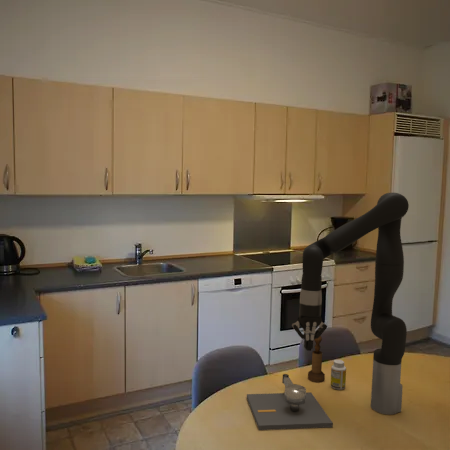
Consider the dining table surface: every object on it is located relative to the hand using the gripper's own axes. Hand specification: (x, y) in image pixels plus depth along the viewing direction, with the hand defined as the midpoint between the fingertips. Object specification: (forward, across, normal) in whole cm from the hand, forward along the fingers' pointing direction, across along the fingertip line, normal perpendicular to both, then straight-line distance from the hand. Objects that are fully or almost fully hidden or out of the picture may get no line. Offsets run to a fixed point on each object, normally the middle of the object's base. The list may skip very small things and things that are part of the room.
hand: (308, 349), depth 160 cm
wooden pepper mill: (+19, -10, -19) cm, 28 cm away
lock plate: (+19, +9, +7) cm, 22 cm away
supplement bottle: (+19, -16, -11) cm, 27 cm away
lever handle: (+17, +7, +4) cm, 19 cm away
